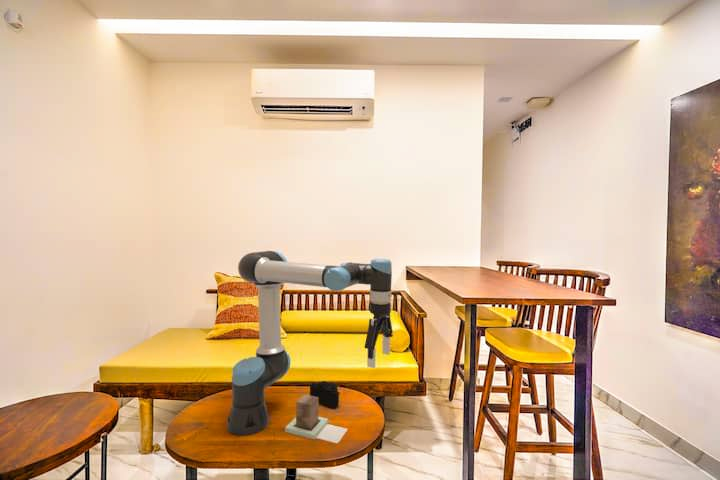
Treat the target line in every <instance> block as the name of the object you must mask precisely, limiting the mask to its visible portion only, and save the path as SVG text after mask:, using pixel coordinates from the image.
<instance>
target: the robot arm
mask: <svg viewBox="0 0 720 480" xmlns="http://www.w3.org/2000/svg"><path fill="white" fill-rule="evenodd" d="M237 268H238V269H237V270H238V271H237V272H238V274H239V276H240V277H241V278H242V279H243V280H244V281H246V282H247V283H253V285H254V287H256V288H257V294H258V295H257V296H258V297H257V299H258V329H259V330H258V332H259V333H258V334H259V346H258V348H256V351H255V356H251V357H248V358H243V359H241V360H239V361H238V362H237V363H235V364H234V366H233V368H232V374H231V398H232V399H231V408H230V411H229V414H228V418H227V420H226V427H227V428H226V429H227V431H228V432H229V433H230V434H232V435H235V436H249V435H250V436H251V435H253V434H257V433H259V432H261V431H263V430H264V429H265V428H266V427H267V426H268V425H269V422H270V413H269V411H268V408H267V404H266V401H265V396H266V395H265V392H266V391H265V389H266V388H268V387H270V386H271V385H272V384H274V383H276V382H277V381H278V380H279V381H280V379H283V377H284V376H285V375H286V374H287V373H288V371H290V368H291V367H290V366H291V357H290V355H289V354H288V352H287V350H286V347H285V346H284V345H283V344H282V336H281V334H282V333H281V332H282V331H281V330H282V329H281V298H280V297H281V296H280V291H281V289H280V287H282V285H283V284H291V285H300V286H301V285H303V286H313V287H318V288H319V287H321V288H328V289H329V290H330V291H333V292H338V291H342V290H345V289H347V288H349V287H352V286H354V285H366V286H367V285H370V286H369V287H370V289H369V290H370V291H369V301H370V302H369V312H370V314H372V315H373V318H369V319H368V328H367V334H366V339H365V343H364V349H367V359H366V360H367V364H366V366H367V368H372V369H376V357H377V355H376V354H377V352H376V351H377V350H376V349H377V348H376V344H377V341H378V338H379V334H380V332H382V334H383V336H382V349H381V350H382V353H381V354H383V355H387V356H389V355H390V354H391V352H390V351H391V338H393V335H394V334H393V331H394V330H393V327H392V321H391V310H392V303H391V301H392V297H393V294H392V276H393V271H392V269H393V268H392V261H391V260H390V259H388V258H372V259H371V260H370V263H361V262H359V263H358V262H356V263H355V262H351V261H350V262H342V263H340V265H326V264H317V263H307V262H306V263H304V262H292V261H287V258H286V257H285V255H284V254H282V252H279V251H277V250H266V251H256V252H255V251H254V252H253V251H252V252H249V253H247V254H245V255H244V256H243V257H241V259H240V260H239V262H238V266H237Z"/></svg>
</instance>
